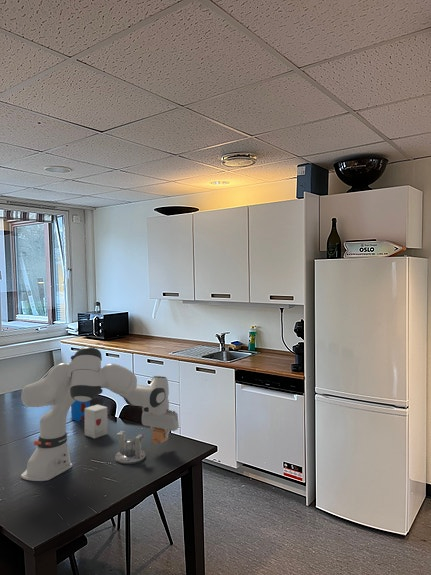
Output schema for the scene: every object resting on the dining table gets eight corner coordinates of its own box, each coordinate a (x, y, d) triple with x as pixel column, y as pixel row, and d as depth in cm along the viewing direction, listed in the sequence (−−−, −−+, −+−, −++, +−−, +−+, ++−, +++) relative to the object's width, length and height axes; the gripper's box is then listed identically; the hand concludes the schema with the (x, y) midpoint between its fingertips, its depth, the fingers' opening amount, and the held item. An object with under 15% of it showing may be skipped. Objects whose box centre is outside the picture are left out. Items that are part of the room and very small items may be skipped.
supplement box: (94, 439, 226) (94, 411, 226) (84, 435, 232) (83, 408, 231) (108, 434, 233) (107, 406, 233) (97, 430, 239) (97, 404, 239)
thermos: (70, 416, 263) (70, 376, 262) (88, 414, 267) (88, 374, 267) (72, 422, 253) (72, 380, 252) (91, 419, 258) (90, 378, 257)
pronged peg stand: (137, 465, 194) (137, 441, 193) (109, 462, 197) (109, 438, 197) (149, 453, 207) (149, 430, 207) (123, 450, 211) (122, 428, 210)
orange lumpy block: (171, 437, 213) (171, 426, 213) (158, 445, 204) (158, 433, 204) (162, 435, 216) (162, 424, 216) (148, 442, 207) (148, 431, 206)
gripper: (181, 409, 207) (181, 437, 208) (147, 404, 217) (147, 431, 217) (173, 413, 202) (174, 442, 202) (139, 407, 212) (139, 435, 212)
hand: (160, 436), depth 210 cm, fingers closed on orange lumpy block, 6 cm apart
